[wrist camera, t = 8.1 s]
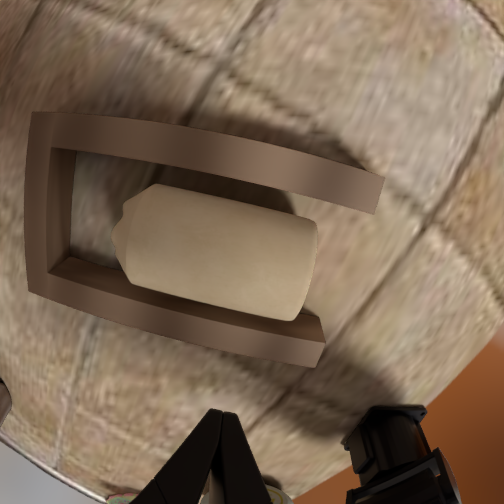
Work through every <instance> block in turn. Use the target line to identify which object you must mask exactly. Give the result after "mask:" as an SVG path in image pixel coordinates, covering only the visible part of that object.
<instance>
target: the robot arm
mask: <svg viewBox="0 0 504 504" xmlns="http://www.w3.org/2000/svg"><path fill="white" fill-rule="evenodd" d="M426 414H427V410H426V408H411V407H381V406H374V407H372V408H370V409H369V411H368V412H367V414H366V415H365V417H364V418H363V420H362V421H361V422H360V424H359V425H358V427H357V428H356V429H355V431H354V432H353V434H352V435H351V436H350V438H349V439H348V441H347V442H346V443H345V445H344V449H345V450H346V451H350V455H351V460H352V465H353V470H354V473H355V474H359V478H360V484H361V487H358V488H356V489H351V490H348V491H347V497H346V504H462V503H461V500H460V495H459V491H458V487H457V483H456V479H455V477H454V475H453V472H452V470H451V468H450V465H449V463H448V461H447V460H446V458H445V457H444V455H443V454H442V452H441V451H440V449H439V448H438V447H437V448H436V449H434V450H433V452H431V450H430V447H429V445H428V443H427V440H426V438H425V435H424V433H423V430H422V428H421V426H420V422H421V421H422V419H423V418H424V416H425V415H426ZM210 469H211V470H210ZM209 472H210V484H209V504H274V503H273V502H272V501H271V500H272V499H271V497H270V494H269V492H268V490H267V488H266V485H265V483H264V480H263V478H262V476H261V473H260V471H259V469H258V466H257V464H256V461H255V459H254V456H253V454H252V451H251V449H250V446H249V444H248V441H247V439H246V436H245V434H244V431H243V428H242V426H241V423H240V421H239V418H238V416H237V414H235V413H231V412H223V411H221V410H217V409H213V408H211V409H209V410H208V412H207V413H206V414H205V416H204V417H203V418H202V419H201V421H200V422H199V423H198V424H197V426H196V427H195V428H194V429H193V431H192V432H191V433H190V434H189V436H188V437H187V438H186V439H185V441H184V442H183V443H182V444H181V446H180V447H179V448H178V449H177V450H176V452H175V453H174V454H173V455H172V456H171V458H170V459H169V460H168V461H167V462H166V464H165V465H164V466H163V467H162V468H161V470H160V471H159V472H158V473H157V474H156V475H155V477H154V479H152V480H151V481H150V482H149V483H148V485H147V486H146V487H145V488H144V489H143V490H142V491H141V492H140V493H139V494H138V495H137V496H136V497H135V498H134V499H133V500H132V501H131V502H130V503H128V504H198V503H199V500H200V497H201V494H202V492H203V489H204V486H205V483H206V481H207V478H208V475H209ZM438 474H441V475H439V476H437V477H435V476H436V475H438Z"/></svg>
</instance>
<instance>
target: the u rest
mask: <svg viewBox="0 0 504 504" xmlns="http://www.w3.org/2000/svg"><path fill="white" fill-rule="evenodd" d="M77 150H78V151H86V152H93V153H99V154H106V155H113V156H119V157H125V158H131V159H137V160H143V161H149V162H154V163H160V164H165V165H171V166H176V167H181V168H186V169H191V170H196V171H201V172H206V173H211V174H215V175H220V176H225V177H229V178H234V179H238V180H243V181H247V182H252V183H256V184H260V185H264V186H268V187H273V188H277V189H281V190H285V191H289V192H293V193H297V194H301V195H304V196H308V197H312V198H316V199H320V200H323V201H327V202H331V203H334V204H338V205H342V206H345V207H349V208H352V209H356V210H359V211H363V212H366V213H369V214H373V215H374V213H375V210H376V207H377V203H378V200H379V197H380V194H381V190H382V187H383V183H384V180H385V177H382V176H380V175H377V174H374V173H372V172H369V171H366V170H363V169H360V168H357V167H353V166H350V165H347V164H344V163H340V162H337V161H334V160H330V159H327V158H323V157H320V156H316V155H313V154H309V153H305V152H302V151H298V150H294V149H290V148H286V147H282V146H278V145H274V144H270V143H266V142H261V141H257V140H253V139H248V138H244V137H239V136H234V135H229V134H224V133H219V132H214V131H209V130H203V129H198V128H192V127H186V126H180V125H174V124H168V123H161V122H154V121H147V120H139V119H131V118H123V117H113V116H103V115H92V114H79V113H64V112H32V116H31V123H30V130H29V138H28V147H27V158H26V171H25V190H24V238H25V257H26V271H27V281H28V290H29V292H32V293H34V294H37V295H39V296H42V297H45V298H47V299H50V300H52V301H55V302H58V303H61V304H63V305H66V306H69V307H72V308H74V309H77V310H80V311H83V312H86V313H89V314H92V315H95V316H98V317H101V318H104V319H107V320H110V321H114V322H117V323H120V324H123V325H126V326H130V327H133V328H137V329H140V330H143V331H147V332H150V333H154V334H158V335H161V336H165V337H169V338H172V339H176V340H180V341H184V342H188V343H192V344H196V345H200V346H204V347H209V348H213V349H217V350H222V351H226V352H231V353H235V354H240V355H245V356H250V357H255V358H260V359H265V360H270V361H276V362H281V363H287V364H293V365H299V366H305V367H312V368H315V367H316V365H317V362H318V360H319V358H320V356H321V353H322V351H323V349H324V347H325V344H326V342H325V338H324V334H323V330H322V326H321V323H320V319H319V317H316V316H311V315H305V314H300V313H298V315H297V316H296V318H295V319H294V320H292V321H284V320H279V319H274V318H269V317H264V316H259V315H255V314H250V313H246V312H241V311H237V310H233V309H228V308H224V307H220V306H215V305H211V304H207V303H203V302H199V301H195V300H191V299H187V298H183V297H179V296H175V295H171V294H167V293H164V292H160V291H156V290H152V289H149V288H145V287H141V286H138V285H134V284H132V283H131V282H130V281H129V279H128V277H127V276H126V274H125V272H123V271H119V270H116V269H112V268H108V267H105V266H101V265H98V264H94V263H91V262H87V261H84V260H80V259H77V258H74V257H70V227H71V205H72V190H73V179H74V169H75V160H76V152H77Z"/></svg>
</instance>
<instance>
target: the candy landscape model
mask: <svg viewBox="0 0 504 504" xmlns="http://www.w3.org/2000/svg"><path fill="white" fill-rule="evenodd" d="M137 495H138V494H133V493H127V494H123V495H122V494H117V495H114V496H110V497H109V499H107V500H106V502H107V504H128V503H130V502H131V501H132V500H133V499H134V498H135V497H136V496H137Z"/></svg>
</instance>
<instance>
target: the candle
mask: <svg viewBox="0 0 504 504" xmlns="http://www.w3.org/2000/svg"><path fill="white" fill-rule="evenodd" d="M111 240H112V243H113V244H114V246H115V248H116V251H115V255H116V257H117V259H118V260H119V262H120V264H121V266H122V268H123V270H124V272H125V274H126V276H127V277H128V279H129V281H130V282H131V283H132V284H134V285H138V286H141V287H145V288H149V289H152V290H156V291H160V292H164V293H167V294H171V295H175V296H179V297H183V298H187V299H191V300H195V301H199V302H203V303H207V304H211V305H215V306H220V307H224V308H228V309H233V310H237V311H241V312H246V313H250V314H255V315H259V316H264V317H269V318H274V319H279V320H284V321H292V320H294V319H295V318H296V316H297V315H298V313H299V311H300V309H301V307H302V305H303V303H304V300H305V298H306V295H307V292H308V289H309V286H310V282H311V278H312V274H313V270H314V265H315V260H316V253H317V243H318V231H317V225H316V223H315V222H314V221H312V220H310V219H307V218H303V217H300V216H296V215H293V214H289V213H285V212H281V211H277V210H273V209H268V208H264V207H260V206H256V205H252V204H248V203H243V202H239V201H235V200H231V199H226V198H222V197H217V196H213V195H208V194H204V193H199V192H195V191H190V190H185V189H181V188H176V187H171V186H166V185H162V184H153V185H151V186H150V187H148V188H147V189H145V190H144V191H142V192H141V193H139V194H138V195H136V196H134V197H132V198H131V199H128V200H126V201H125V202H124V204H123V216H122V218H121V220H120V221H119V222H118V223H117V224H116V225H115V227H114V228H113V230H112V232H111Z"/></svg>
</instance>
